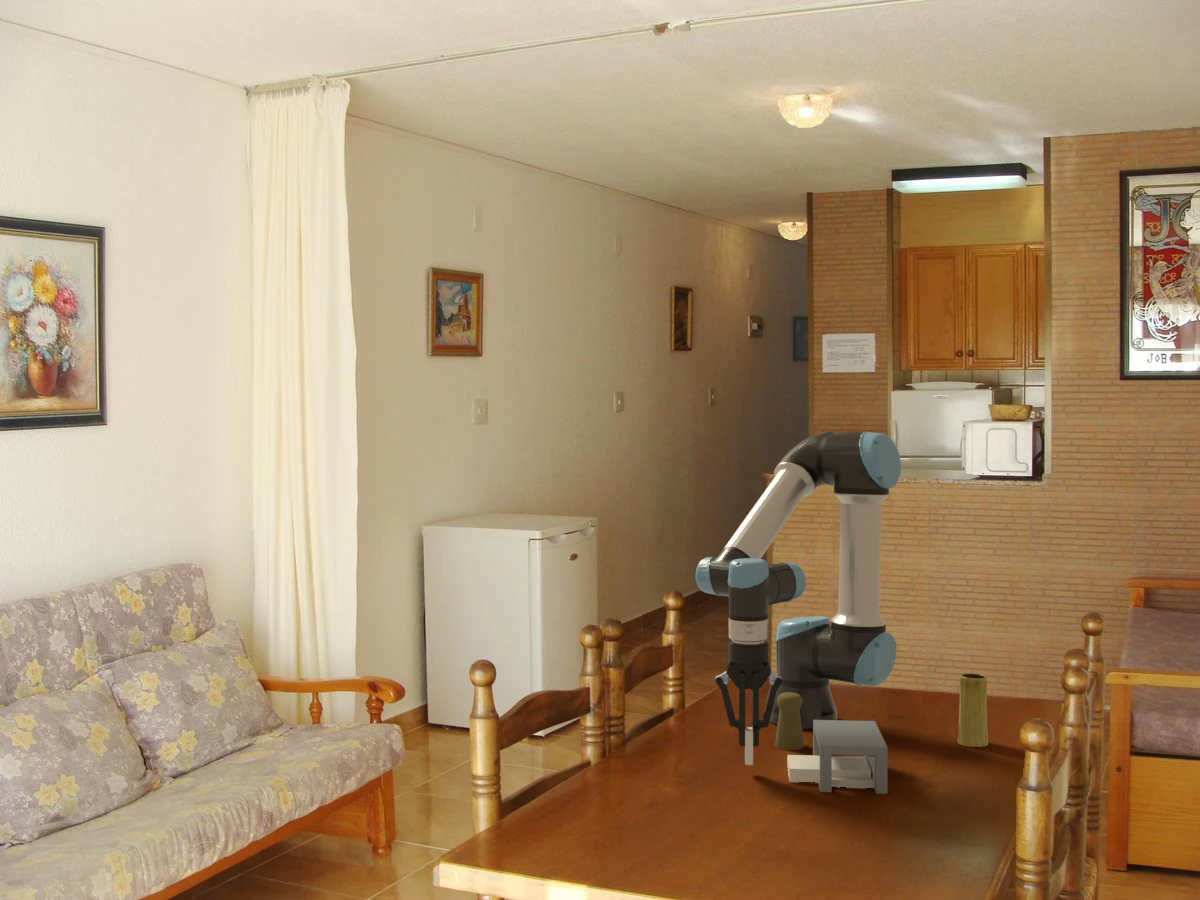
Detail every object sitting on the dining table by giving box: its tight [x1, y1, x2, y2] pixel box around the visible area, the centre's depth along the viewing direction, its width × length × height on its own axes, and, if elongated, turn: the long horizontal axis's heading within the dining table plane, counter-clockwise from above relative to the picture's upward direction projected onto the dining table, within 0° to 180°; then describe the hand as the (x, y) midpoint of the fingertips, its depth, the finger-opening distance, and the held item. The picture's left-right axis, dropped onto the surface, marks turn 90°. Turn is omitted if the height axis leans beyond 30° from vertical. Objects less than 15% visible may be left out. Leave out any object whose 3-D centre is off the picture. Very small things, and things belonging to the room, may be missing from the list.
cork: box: [774, 692, 805, 751], centre depth 245 cm, size 6×6×11 cm
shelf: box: [812, 719, 889, 795], centre depth 224 cm, size 18×12×8 cm, turn 174°
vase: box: [957, 672, 989, 748], centre depth 246 cm, size 6×6×14 cm
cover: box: [786, 754, 871, 784], centre depth 225 cm, size 9×15×3 cm, turn 84°
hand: (749, 762), depth 226 cm, fingers closed
